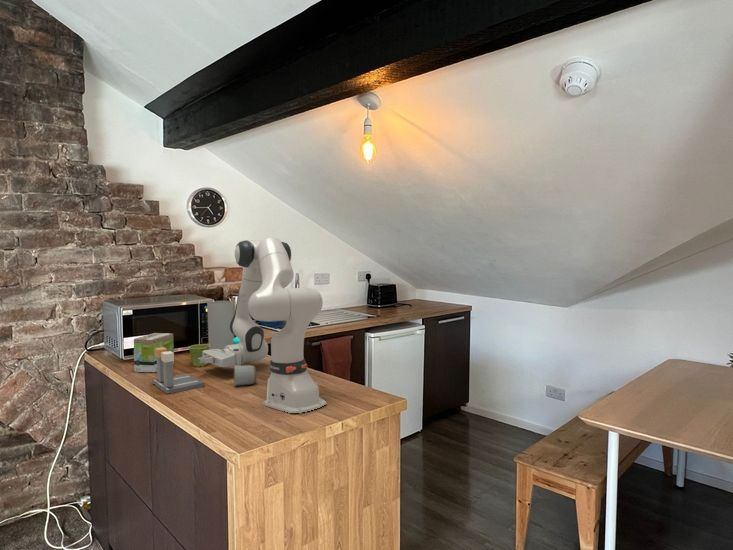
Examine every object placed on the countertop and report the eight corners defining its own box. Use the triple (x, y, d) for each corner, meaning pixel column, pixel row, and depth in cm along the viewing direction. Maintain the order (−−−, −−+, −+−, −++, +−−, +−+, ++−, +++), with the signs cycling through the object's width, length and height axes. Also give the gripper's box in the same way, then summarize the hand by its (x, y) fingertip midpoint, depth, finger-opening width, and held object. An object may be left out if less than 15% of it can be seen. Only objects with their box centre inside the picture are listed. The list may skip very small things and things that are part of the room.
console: (204, 386, 183) (204, 382, 183) (166, 394, 174) (166, 390, 174) (187, 376, 197) (187, 373, 197) (151, 383, 188) (151, 379, 188)
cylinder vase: (228, 347, 252) (226, 300, 250) (238, 351, 242) (237, 302, 241) (205, 351, 244) (203, 302, 242) (214, 355, 234) (213, 304, 233)
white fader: (175, 386, 178) (173, 353, 177) (166, 387, 176) (164, 354, 175) (171, 383, 181) (169, 351, 180) (162, 385, 179) (161, 352, 178)
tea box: (155, 373, 203) (153, 339, 202) (133, 373, 204) (132, 338, 203) (175, 364, 217) (173, 332, 216) (154, 364, 219) (153, 332, 218)
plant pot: (187, 364, 218) (186, 345, 217) (209, 361, 222) (208, 343, 221) (190, 369, 209) (189, 349, 209) (212, 366, 214) (211, 347, 213)
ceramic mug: (257, 385, 184) (256, 366, 183) (235, 388, 181) (234, 368, 180) (253, 379, 194) (253, 360, 193) (232, 381, 191) (232, 362, 190)
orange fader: (168, 380, 185) (167, 348, 184) (159, 382, 183) (158, 350, 182) (164, 378, 188) (163, 347, 188) (156, 379, 186) (154, 348, 186)
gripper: (221, 344, 212) (189, 349, 203) (241, 352, 196) (209, 357, 187) (221, 358, 212) (190, 363, 203) (242, 367, 197) (209, 373, 188)
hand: (199, 360), depth 195 cm, fingers closed
